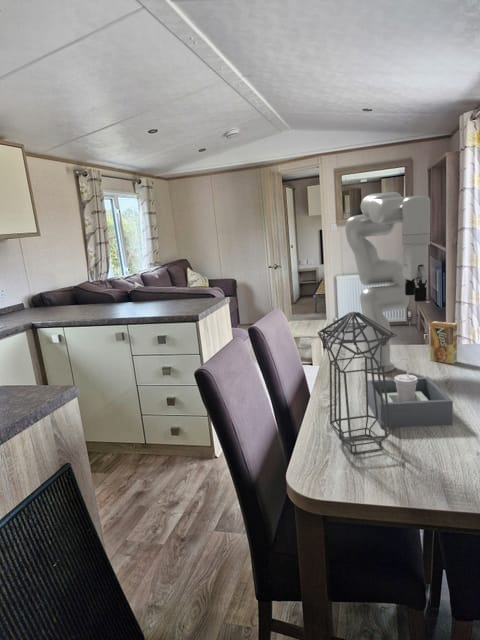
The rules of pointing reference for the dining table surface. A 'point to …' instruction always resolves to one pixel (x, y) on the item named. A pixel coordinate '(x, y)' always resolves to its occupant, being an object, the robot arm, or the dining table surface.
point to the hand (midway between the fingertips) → (415, 297)
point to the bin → (412, 405)
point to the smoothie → (406, 386)
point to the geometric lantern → (344, 322)
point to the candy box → (443, 342)
